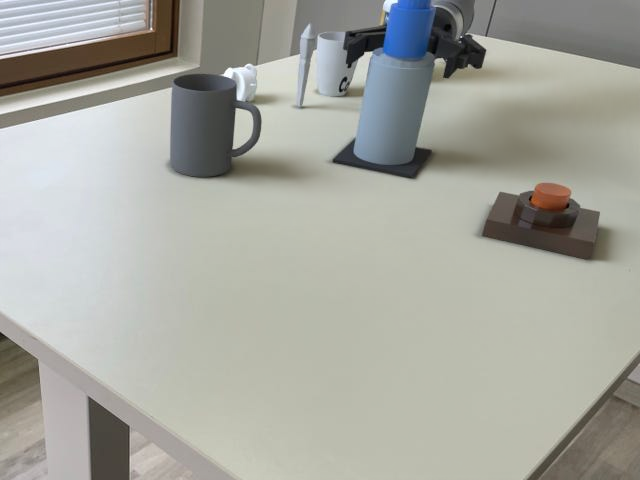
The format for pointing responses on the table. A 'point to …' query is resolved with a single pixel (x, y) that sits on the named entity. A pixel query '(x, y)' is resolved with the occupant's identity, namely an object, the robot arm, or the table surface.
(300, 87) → the pen
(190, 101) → the mug
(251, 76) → the elephant figurine
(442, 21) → the robot arm
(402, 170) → the mat
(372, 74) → the spray bottle
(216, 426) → the table surface
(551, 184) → the button
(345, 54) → the cup
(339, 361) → the table surface
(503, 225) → the button block
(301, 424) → the table surface
